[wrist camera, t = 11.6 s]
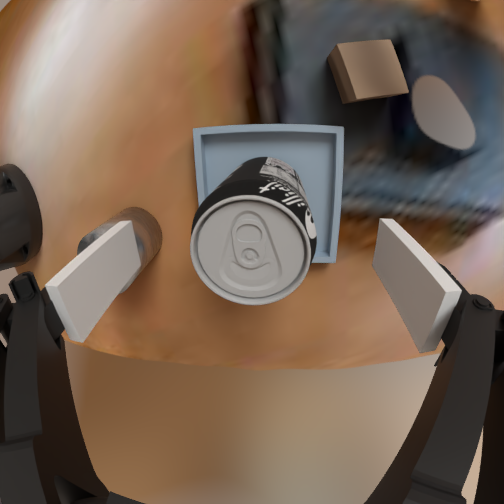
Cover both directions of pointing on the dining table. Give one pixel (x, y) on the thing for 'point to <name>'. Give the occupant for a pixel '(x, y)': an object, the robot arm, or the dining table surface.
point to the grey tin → (144, 232)
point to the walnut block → (366, 70)
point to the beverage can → (254, 234)
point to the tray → (291, 152)
